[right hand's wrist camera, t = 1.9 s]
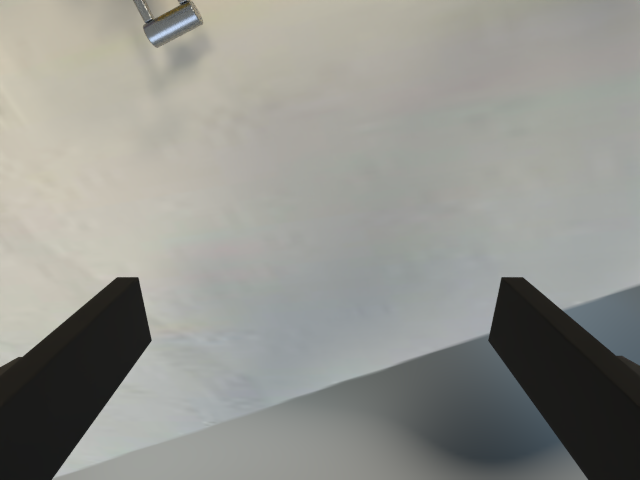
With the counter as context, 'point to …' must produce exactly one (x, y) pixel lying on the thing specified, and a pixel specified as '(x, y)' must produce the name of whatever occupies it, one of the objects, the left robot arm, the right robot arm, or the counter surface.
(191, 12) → the drawer
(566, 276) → the counter surface
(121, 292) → the right robot arm
